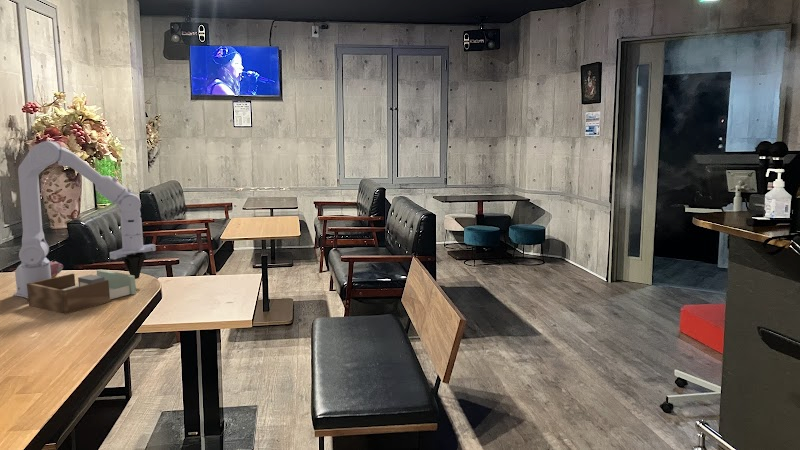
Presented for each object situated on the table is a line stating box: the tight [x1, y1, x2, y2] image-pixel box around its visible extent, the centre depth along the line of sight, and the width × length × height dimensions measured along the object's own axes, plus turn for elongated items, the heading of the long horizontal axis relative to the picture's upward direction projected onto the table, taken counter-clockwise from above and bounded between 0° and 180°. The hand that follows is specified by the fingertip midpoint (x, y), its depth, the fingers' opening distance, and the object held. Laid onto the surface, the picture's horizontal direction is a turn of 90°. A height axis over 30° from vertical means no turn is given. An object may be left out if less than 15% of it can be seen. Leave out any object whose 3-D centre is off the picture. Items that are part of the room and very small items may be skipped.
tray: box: [61, 269, 137, 300], centre depth 179 cm, size 15×14×5 cm
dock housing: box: [27, 273, 111, 315], centre depth 172 cm, size 16×13×6 cm
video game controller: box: [50, 260, 64, 278], centre depth 197 cm, size 10×5×7 cm, turn 169°
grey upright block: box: [77, 274, 105, 287], centre depth 177 cm, size 4×6×5 cm
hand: (135, 278), depth 190 cm, fingers closed
